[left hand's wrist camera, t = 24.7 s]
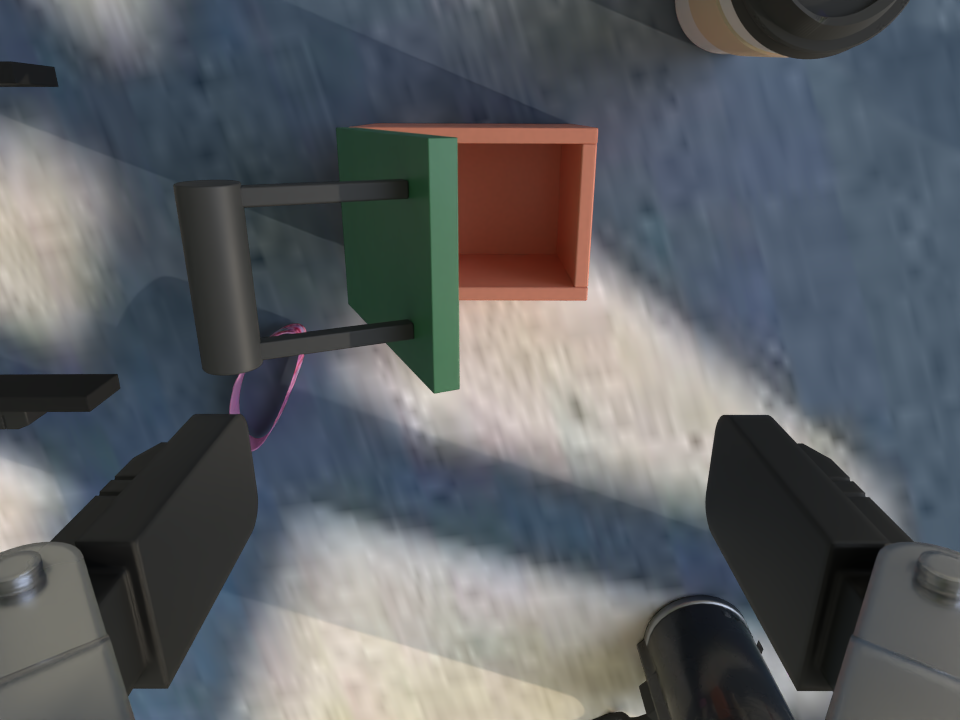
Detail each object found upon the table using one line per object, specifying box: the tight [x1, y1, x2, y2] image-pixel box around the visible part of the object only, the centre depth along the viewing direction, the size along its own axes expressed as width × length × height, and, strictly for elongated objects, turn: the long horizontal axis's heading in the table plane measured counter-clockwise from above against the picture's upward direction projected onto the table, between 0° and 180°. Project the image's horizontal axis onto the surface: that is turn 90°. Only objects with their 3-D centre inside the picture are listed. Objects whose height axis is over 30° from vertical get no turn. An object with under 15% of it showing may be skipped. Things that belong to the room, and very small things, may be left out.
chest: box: [354, 123, 598, 301], centre depth 42 cm, size 13×10×10 cm
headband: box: [229, 324, 306, 452], centre depth 50 cm, size 11×4×2 cm, turn 155°
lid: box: [173, 127, 460, 393], centre depth 29 cm, size 14×10×9 cm
